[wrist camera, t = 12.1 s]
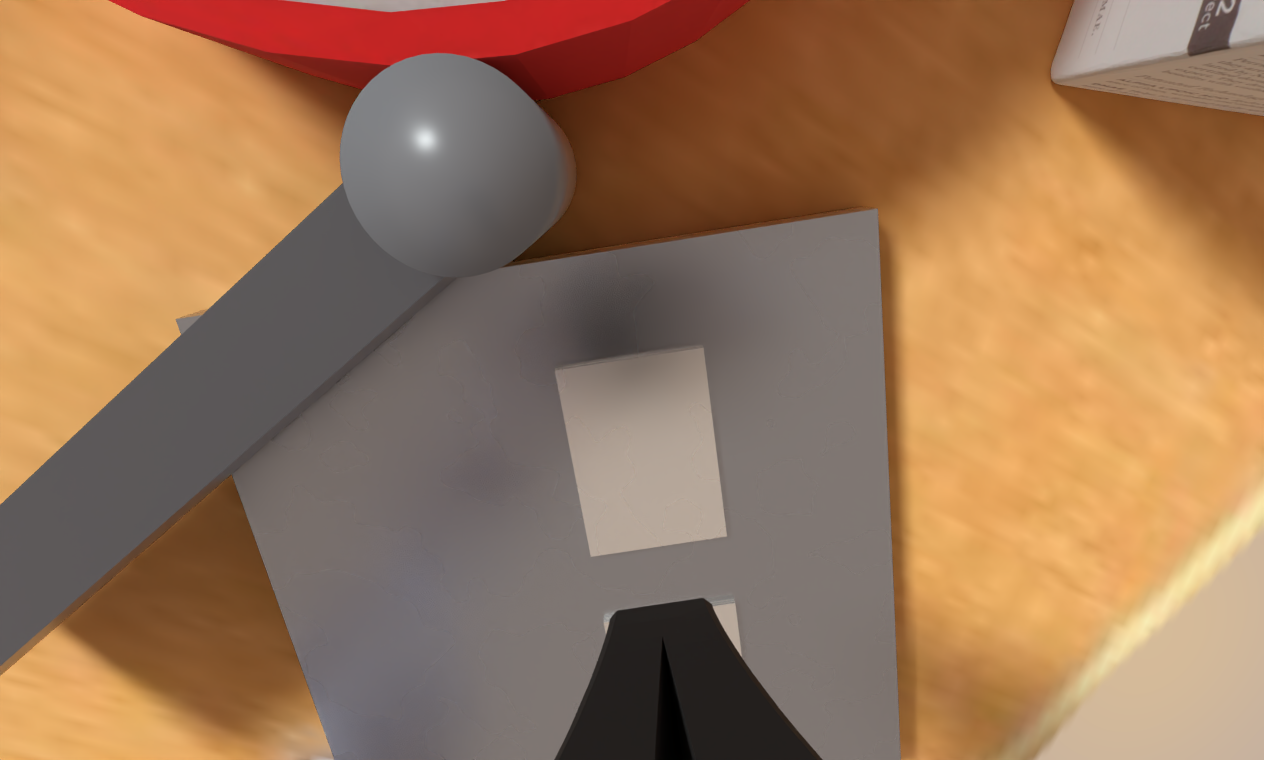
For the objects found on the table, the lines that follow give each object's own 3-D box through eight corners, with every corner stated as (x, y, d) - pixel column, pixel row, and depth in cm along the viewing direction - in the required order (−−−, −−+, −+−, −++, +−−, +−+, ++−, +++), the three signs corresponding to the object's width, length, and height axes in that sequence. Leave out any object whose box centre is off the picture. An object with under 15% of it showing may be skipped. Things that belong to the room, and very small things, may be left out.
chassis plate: (887, 738, 21) (903, 771, 19) (375, 812, 21) (362, 849, 20) (861, 207, 16) (881, 209, 15) (201, 310, 16) (169, 320, 15)
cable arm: (514, 70, 15) (452, 1, 9) (603, 182, 15) (599, 186, 10) (-35, 578, 18) (-346, 771, 12) (60, 650, 18) (-188, 865, 13)
